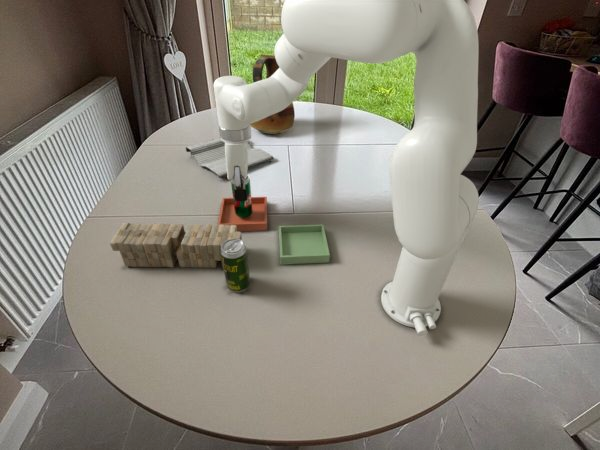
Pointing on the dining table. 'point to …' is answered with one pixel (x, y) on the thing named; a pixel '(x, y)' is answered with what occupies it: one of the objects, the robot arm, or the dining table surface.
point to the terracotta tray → (251, 223)
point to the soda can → (243, 207)
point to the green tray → (303, 244)
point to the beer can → (235, 265)
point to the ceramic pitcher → (277, 120)
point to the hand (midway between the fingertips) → (242, 193)
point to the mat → (223, 156)
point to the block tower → (172, 244)
